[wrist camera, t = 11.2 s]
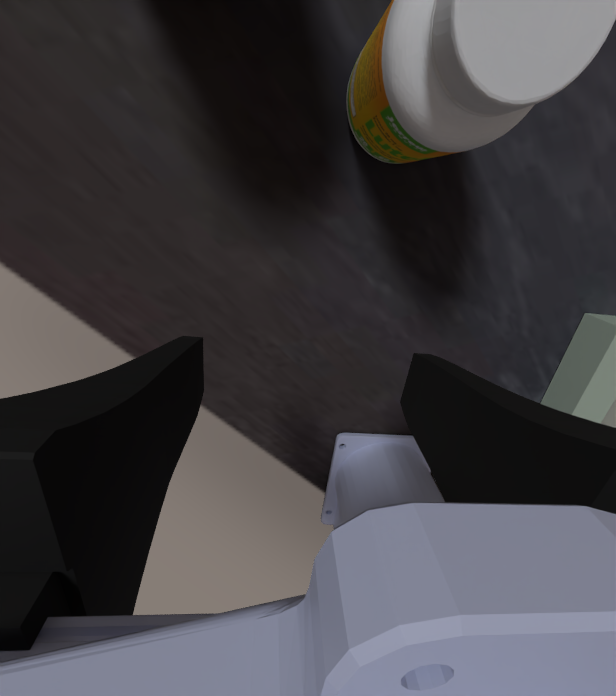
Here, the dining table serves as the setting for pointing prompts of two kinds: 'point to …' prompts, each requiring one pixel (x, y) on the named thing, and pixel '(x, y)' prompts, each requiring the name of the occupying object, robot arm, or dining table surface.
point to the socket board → (586, 371)
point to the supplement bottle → (466, 70)
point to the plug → (610, 416)
